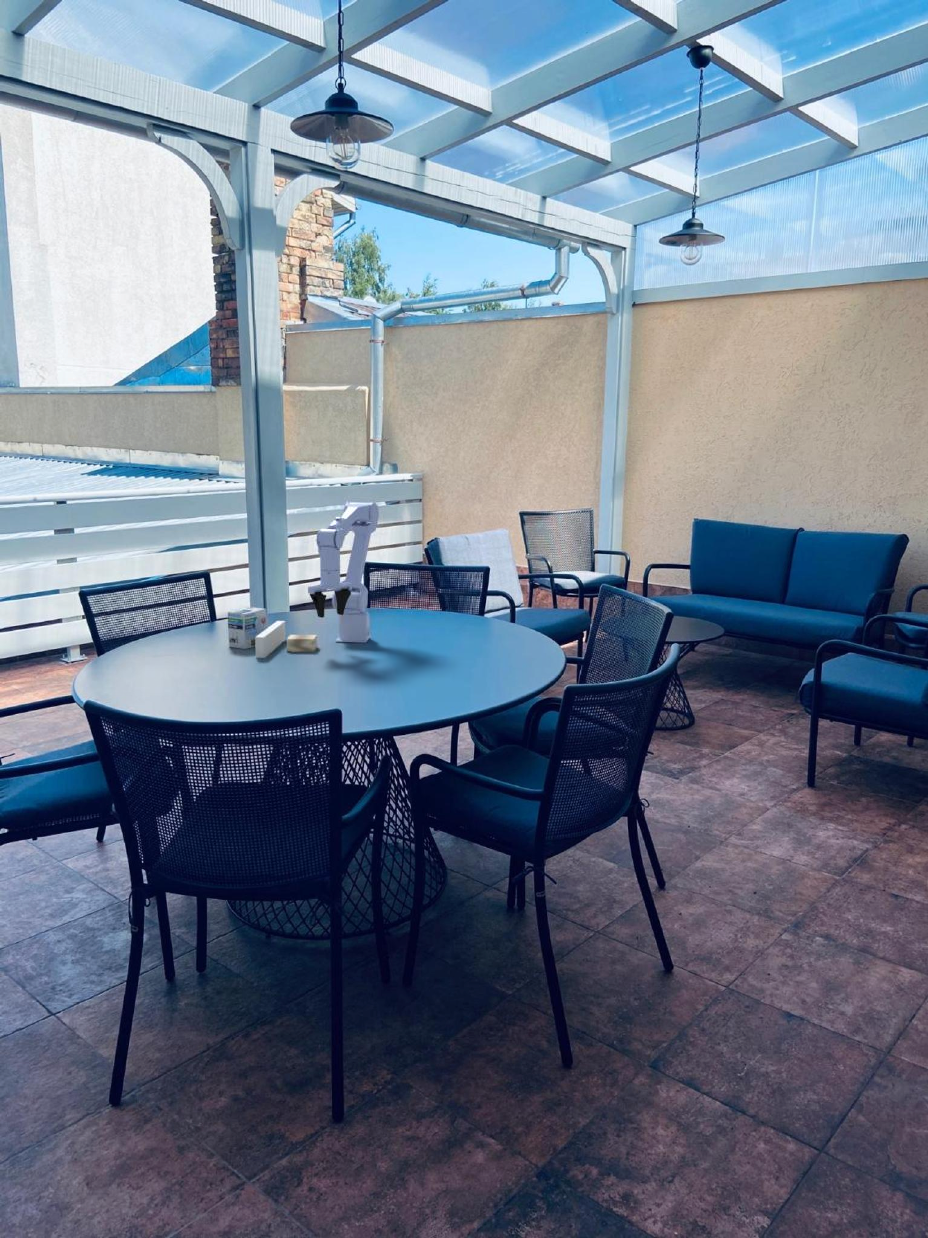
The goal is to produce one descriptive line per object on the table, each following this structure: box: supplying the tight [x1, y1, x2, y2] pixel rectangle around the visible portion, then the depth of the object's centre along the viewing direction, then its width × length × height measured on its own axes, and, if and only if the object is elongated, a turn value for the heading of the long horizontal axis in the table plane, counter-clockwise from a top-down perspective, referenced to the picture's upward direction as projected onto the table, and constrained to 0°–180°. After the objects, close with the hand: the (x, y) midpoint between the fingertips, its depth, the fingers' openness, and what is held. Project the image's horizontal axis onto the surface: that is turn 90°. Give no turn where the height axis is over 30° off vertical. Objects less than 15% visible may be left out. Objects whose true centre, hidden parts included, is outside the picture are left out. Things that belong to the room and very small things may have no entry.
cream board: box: [254, 620, 287, 659], centre depth 267 cm, size 2×24×6 cm, turn 177°
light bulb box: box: [227, 606, 268, 650], centre depth 271 cm, size 11×7×11 cm, turn 154°
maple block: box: [286, 634, 318, 653], centre depth 266 cm, size 8×6×4 cm
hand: (330, 615), depth 264 cm, fingers open, 6 cm apart
